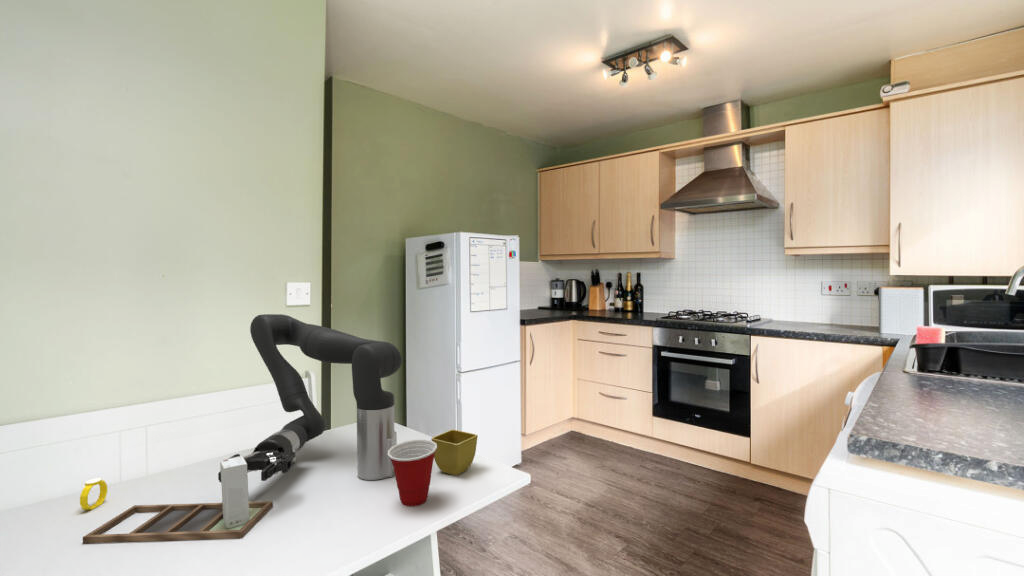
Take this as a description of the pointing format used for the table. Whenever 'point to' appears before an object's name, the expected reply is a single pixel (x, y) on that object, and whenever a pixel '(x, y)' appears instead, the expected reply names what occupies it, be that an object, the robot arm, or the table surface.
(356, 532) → the table surface
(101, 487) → the watch
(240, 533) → the divided wooden frame
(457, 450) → the flower pot
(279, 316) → the robot arm
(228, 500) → the skincare box
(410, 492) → the plastic cup
